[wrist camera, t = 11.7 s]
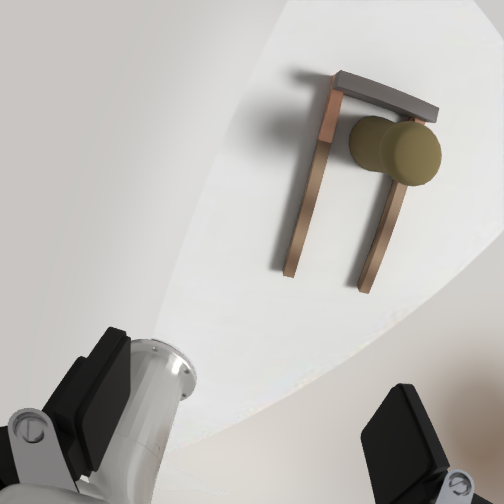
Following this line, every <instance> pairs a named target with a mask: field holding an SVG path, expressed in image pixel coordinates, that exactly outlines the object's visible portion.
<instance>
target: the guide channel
mask: <svg viewBox="0 0 504 504" xmlns="http://www.w3.org/2000/svg"><path fill="white" fill-rule="evenodd" d="M343 94H344V95H348V96H351V97H354V98H357V99H360V100H363V101H366V102H369V103H372V104H375V105H377V106H380V107H383V108H386V109H388V110H391V111H394V112H396V113H399V114H401V115H404V116H407V117H409V118H410V120H409V121H413V122H418V123H421V124H422V125H424V124H425V122H431V123H436V120H437V116H438V111H439V108H438V107H436V106H434V105H431V104H429V103H427V102H425V101H422V100H420V99H418V98H416V97H413V96H411V95H408V94H406V93H404V92H401V91H399V90H396V89H394V88H391V87H388V86H386V85H383V84H380V83H378V82H375V81H372V80H369V79H366V78H363V77H361V76H358V75H354V74H351V73H348V72H345V71H342V70H340V71H339V72H338V73H336V74H335V75H334V76H333V78H332V82H331V86H330V91H329V95H328V99H327V103H326V108H325V112H324V116H323V120H322V124H321V128H320V132H319V136H318V140H317V144H316V148H315V152H314V156H313V160H312V164H311V168H310V172H309V175H308V179H307V183H306V187H305V191H304V195H303V198H302V202H301V206H300V209H299V213H298V217H297V221H296V224H295V228H294V231H293V235H292V239H291V242H290V246H289V249H288V253H287V257H286V260H285V264H284V267H283V276H287V277H292V278H294V275H295V272H296V268H297V265H298V262H299V258H300V255H301V252H302V248H303V245H304V242H305V238H306V235H307V231H308V228H309V224H310V221H311V217H312V214H313V210H314V207H315V203H316V200H317V196H318V192H319V189H320V185H321V181H322V178H323V174H324V170H325V166H326V163H327V159H328V155H329V151H330V147H331V143H332V139H333V135H334V131H335V127H336V123H337V119H338V115H339V111H340V107H341V103H342V99H343ZM407 187H408V186H407V185H403V184H401V183H399V182H397V181H395V180H393V183H392V186H391V189H390V193H389V196H388V199H387V202H386V205H385V208H384V211H383V215H382V218H381V221H380V224H379V226H378V229H377V232H376V235H375V238H374V241H373V244H372V246H371V249H370V252H369V255H368V257H367V260H366V263H365V266H364V268H363V271H362V273H361V276H360V279H359V281H358V284H357V287H358V290H359V292H362V293H367V294H369V292H370V289H371V287H372V284H373V282H374V279H375V277H376V274H377V272H378V269H379V267H380V264H381V262H382V259H383V257H384V254H385V251H386V249H387V246H388V243H389V240H390V238H391V235H392V232H393V229H394V226H395V223H396V221H397V218H398V215H399V212H400V209H401V206H402V203H403V199H404V196H405V193H406V190H407Z"/></svg>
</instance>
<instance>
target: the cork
mask: <svg viewBox="0 0 504 504" xmlns="http://www.w3.org/2000/svg"><path fill="white" fill-rule="evenodd" d="M349 148H350V152H351V155H352V156H353V158H354V160H355V162H357V163H358V164H359V165H360V166H361V167H362V168H364V169H366V170H368V171H374V172H382V173H387V174H388V175H389V176H390V177H391V178H392V179H393V180H395V181H397V182H399V183H401V184H403V185H407V186H418V185H423V184H425V183H427V182H428V181H430V180H431V179H432V178H433V177H434V176H435V175H436V173H437V171H438V169H439V167H440V164H441V156H442V154H441V147H440V144H439V142H438V139H437V137H436V136H435V135H434V133H433V132H432V131H431V130H430V129H429V128H427V127H426V126H424V125H422V124H421V123H418V122H413V121H404V122H399V123H395V122H393V121H390V120H388V119H385V118H383V117H377V116H371V117H366V118H364V119H362V120H360V121H359V122H358V123H357V124H356V125H355V126H354V127H353V129H352V131H351V134H350V137H349Z"/></svg>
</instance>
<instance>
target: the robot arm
mask: <svg viewBox="0 0 504 504" xmlns="http://www.w3.org/2000/svg"><path fill="white" fill-rule="evenodd" d="M195 385H196V373H195V371H194V368H193V366H192V365H191V363H190V362H189V361H188V360H187V359H186V357H185V356H183V355H182V354H181V353H180V352H179V351H177V350H175V349H174V348H172V347H170V346H168V345H166V344H164V343H161V342H158V341H154V340H148V339H138V340H132V341H131V338H130V337H128V336H126V332H125V331H123V330H120V329H117V328H113V327H109V328H108V329H107V330H106V332H105V333H104V335H103V336H102V337H101V339H100V340H99V342H98V343H97V344H96V346H95V347H94V349H93V350H92V352H91V353H90V355H89V356H88V357H87V358H85V357H82V356H80V357H78V358H77V360H76V361H75V362H74V364H73V365H72V367H71V368H70V369H69V371H68V372H67V374H66V375H65V376H64V378H63V379H62V381H61V382H60V384H59V385H58V387H57V388H56V390H55V391H54V392H53V394H52V395H51V397H50V399H49V400H48V402H47V403H46V405H45V406H44V407H43V409H42V411H40V410H38V409H34V408H24V409H21V410H18V411H17V412H15V413H14V414H13V415H12V416H11V418H10V419H9V422H8V426H4V427H0V504H151V500H152V495H153V490H154V486H155V483H156V479H157V475H158V472H159V468H160V464H161V461H162V458H163V454H164V451H165V447H166V444H167V441H168V437H169V434H170V431H171V427H172V424H173V421H174V418H175V414H176V411H177V408H178V404H179V401H182V400H184V399H186V398H188V397H189V396H190V395H191V394H192V392H193V391H194V388H195ZM361 443H362V447H363V450H364V455H365V458H366V463H367V467H368V471H369V476H370V480H371V484H372V489H373V493H374V498H375V503H376V504H493V503H491V502H489V501H487V500H485V499H484V498H482V497H480V496H478V495H477V494H475V493H474V487H475V486H474V481H473V479H472V478H471V476H470V475H469V474H468V473H466V472H465V471H463V470H460V469H454V470H451V471H450V472H448V471H447V469H448V468H449V467H450V465H449V462H448V460H447V457H446V455H445V453H444V451H443V448H442V446H441V443H440V441H439V439H438V437H437V434H436V432H435V430H434V428H433V425H432V423H431V421H430V419H429V417H428V415H427V412H426V410H425V408H424V406H423V404H422V402H421V400H420V398H419V395H418V393H417V392H416V389H415V387H414V386H413V385H412V384H401V383H399V384H397V385H396V386H395V387H393V388H392V389H391V390H390V392H389V393H388V395H387V396H386V398H385V399H384V401H383V402H382V404H381V405H380V407H379V408H378V409H377V411H376V412H375V414H374V415H373V417H372V418H371V419H370V421H369V422H368V424H367V425H366V426H365V428H364V429H363V431H362V433H361ZM81 475H84V476H87V477H88V480H89V483H87V482H85V481H83V480H81V479H80V477H81Z"/></svg>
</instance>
